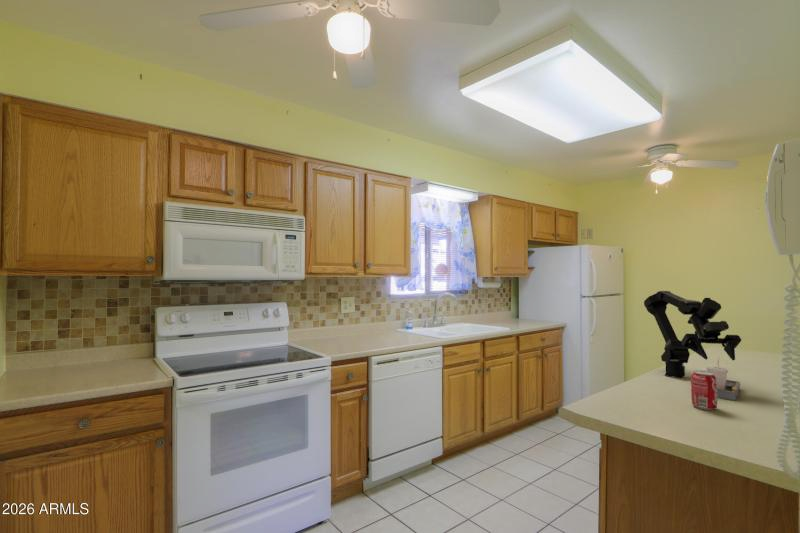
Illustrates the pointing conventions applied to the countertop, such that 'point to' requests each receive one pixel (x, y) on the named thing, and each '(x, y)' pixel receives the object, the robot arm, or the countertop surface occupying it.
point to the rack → (729, 390)
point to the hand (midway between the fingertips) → (720, 359)
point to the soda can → (704, 390)
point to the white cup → (719, 375)
